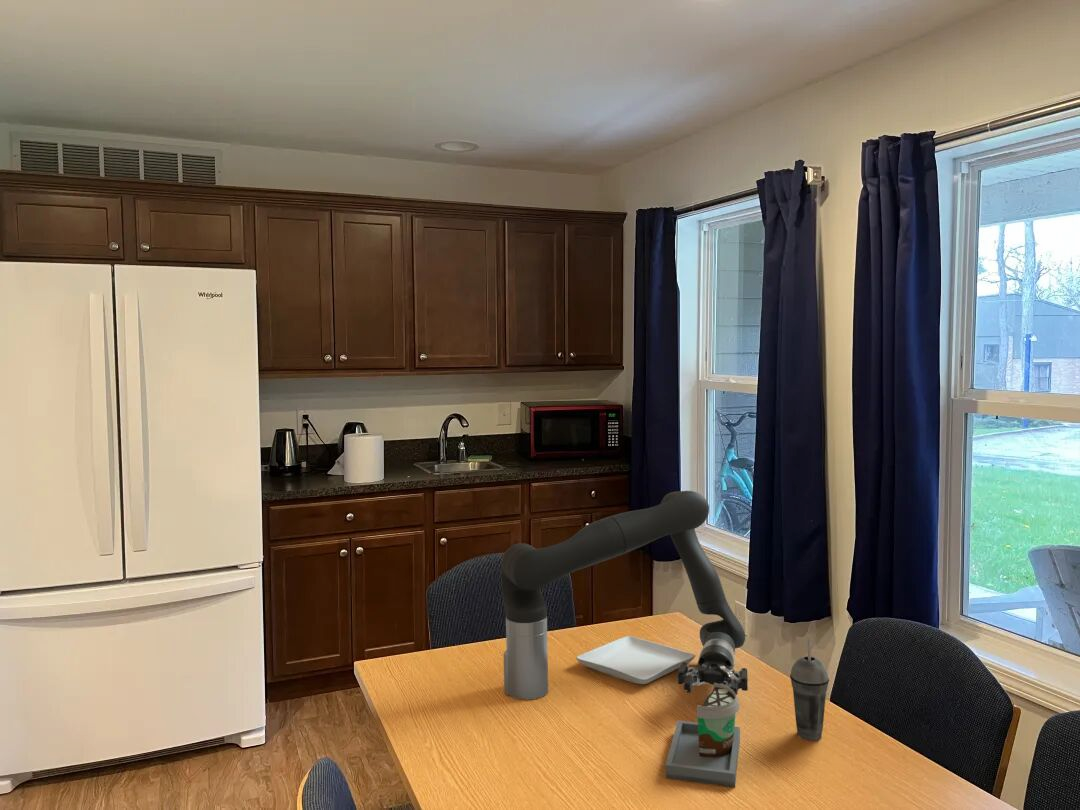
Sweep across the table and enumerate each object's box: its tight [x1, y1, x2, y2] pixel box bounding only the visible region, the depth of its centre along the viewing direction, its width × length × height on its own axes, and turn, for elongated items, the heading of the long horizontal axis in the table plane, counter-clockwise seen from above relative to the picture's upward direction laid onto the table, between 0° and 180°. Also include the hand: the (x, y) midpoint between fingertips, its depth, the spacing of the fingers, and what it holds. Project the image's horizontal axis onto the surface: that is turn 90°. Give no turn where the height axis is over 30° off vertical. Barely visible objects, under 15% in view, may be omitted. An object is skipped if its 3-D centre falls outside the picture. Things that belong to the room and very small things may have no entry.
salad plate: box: [576, 635, 696, 685], centre depth 192 cm, size 21×21×3 cm
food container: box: [696, 683, 740, 757], centre depth 150 cm, size 12×6×10 cm, turn 152°
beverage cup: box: [789, 636, 830, 742], centre depth 155 cm, size 7×7×20 cm
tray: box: [665, 720, 741, 788], centre depth 148 cm, size 12×18×2 cm, turn 163°
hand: (710, 690), depth 160 cm, fingers open, 8 cm apart
